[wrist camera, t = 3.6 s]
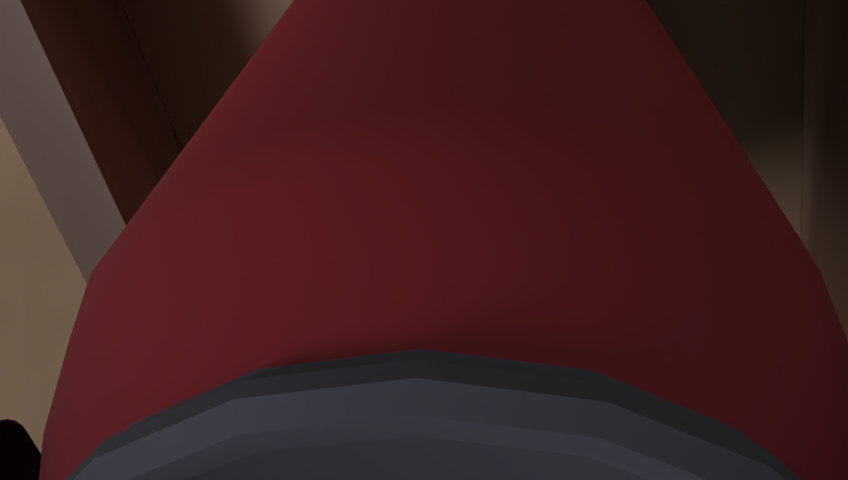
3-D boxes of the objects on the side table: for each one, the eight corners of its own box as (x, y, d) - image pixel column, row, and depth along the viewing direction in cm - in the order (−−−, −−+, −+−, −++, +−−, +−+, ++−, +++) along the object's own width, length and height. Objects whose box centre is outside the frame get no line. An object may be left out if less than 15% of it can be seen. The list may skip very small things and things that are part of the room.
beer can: (221, 40, 15) (-315, 644, 5) (508, -210, 13) (613, -39, 3) (438, 276, 18) (378, 1005, 7) (714, 103, 15) (1185, 831, 5)
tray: (908, -510, 11) (1042, -590, 8) (861, 258, 17) (930, 351, 14) (-50, -236, 13) (-180, -233, 11) (211, 350, 19) (169, 443, 17)
